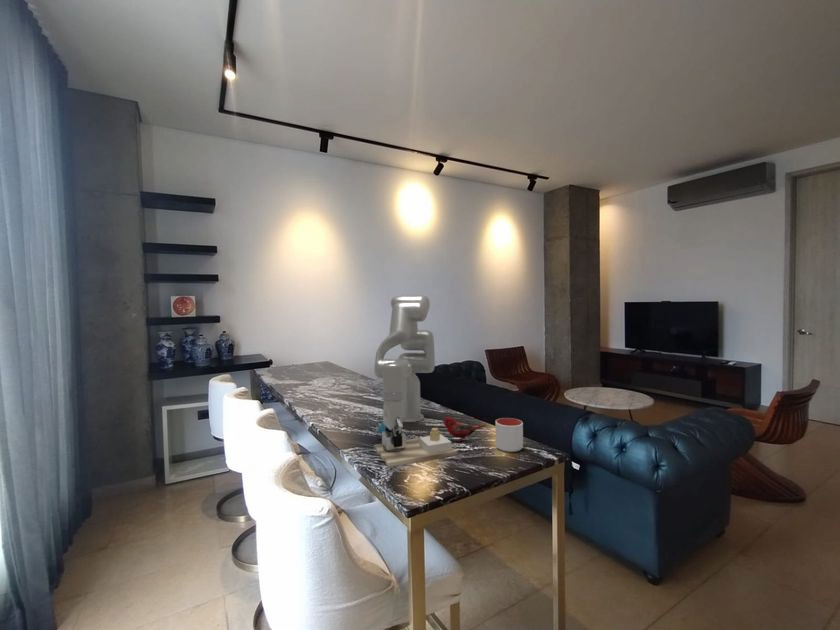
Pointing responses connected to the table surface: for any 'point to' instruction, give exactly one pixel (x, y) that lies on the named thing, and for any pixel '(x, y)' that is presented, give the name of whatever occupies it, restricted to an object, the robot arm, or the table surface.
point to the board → (410, 454)
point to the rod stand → (393, 449)
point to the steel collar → (391, 440)
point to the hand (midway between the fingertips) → (393, 442)
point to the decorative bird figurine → (459, 428)
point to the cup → (509, 434)
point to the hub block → (434, 442)
